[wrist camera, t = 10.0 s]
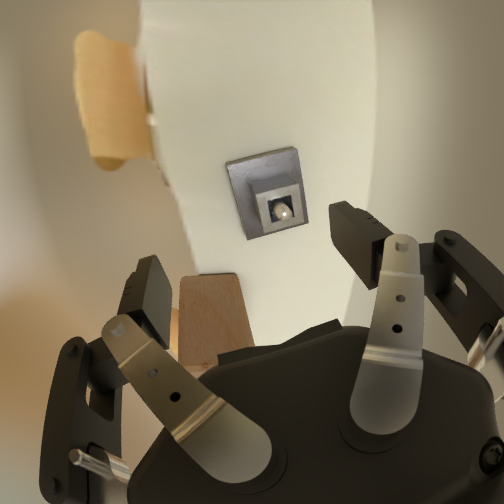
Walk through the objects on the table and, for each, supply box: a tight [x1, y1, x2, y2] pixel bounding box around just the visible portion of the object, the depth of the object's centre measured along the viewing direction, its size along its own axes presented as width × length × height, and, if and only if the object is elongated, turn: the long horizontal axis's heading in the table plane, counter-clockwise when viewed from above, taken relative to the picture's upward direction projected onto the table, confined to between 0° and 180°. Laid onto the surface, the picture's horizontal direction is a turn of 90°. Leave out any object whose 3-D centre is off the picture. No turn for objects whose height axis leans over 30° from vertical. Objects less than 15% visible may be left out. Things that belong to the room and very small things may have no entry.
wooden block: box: [178, 274, 255, 379], centre depth 41 cm, size 10×10×20 cm
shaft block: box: [226, 147, 309, 240], centre depth 37 cm, size 12×10×9 cm
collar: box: [249, 174, 304, 233], centre depth 37 cm, size 6×6×5 cm
